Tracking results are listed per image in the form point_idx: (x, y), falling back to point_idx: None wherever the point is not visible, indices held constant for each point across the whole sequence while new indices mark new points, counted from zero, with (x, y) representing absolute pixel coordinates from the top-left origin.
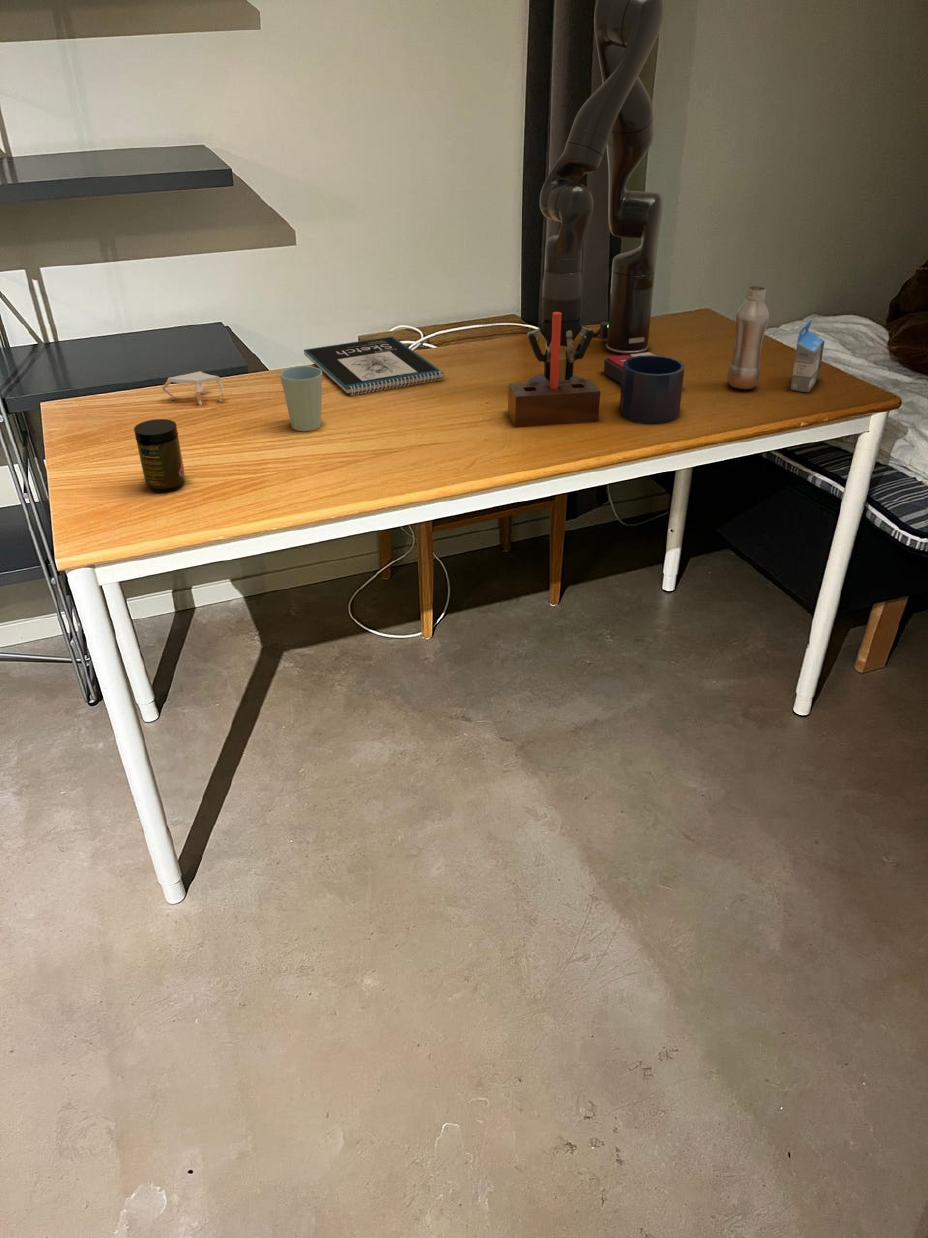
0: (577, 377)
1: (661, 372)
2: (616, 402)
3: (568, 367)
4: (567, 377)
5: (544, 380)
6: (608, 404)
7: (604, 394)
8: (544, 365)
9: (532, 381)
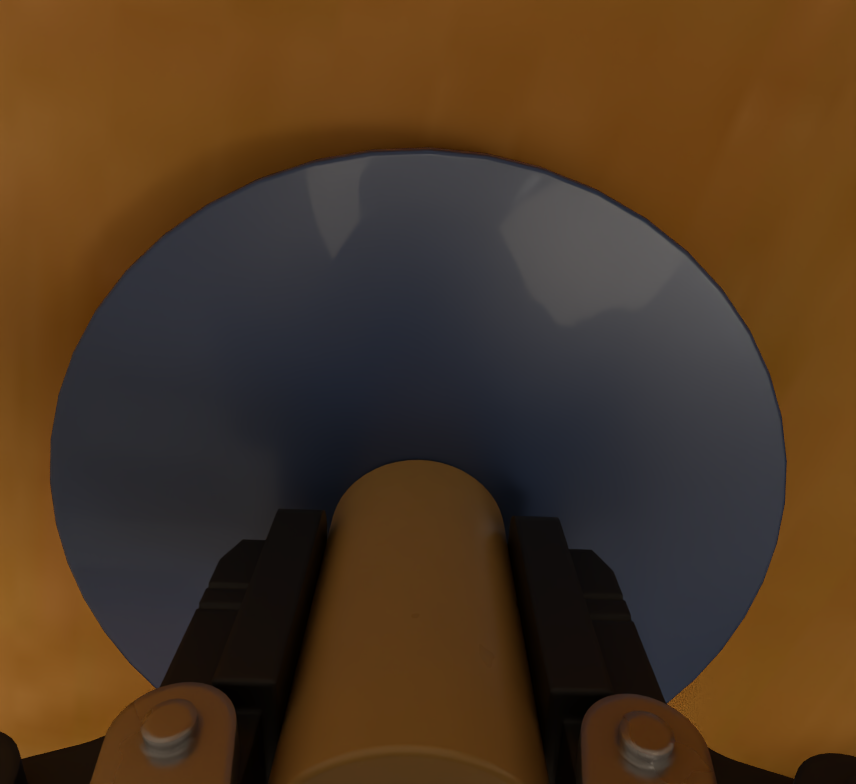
0: (723, 396)
1: None
2: None
3: None
4: None
5: (278, 409)
6: None
7: (834, 598)
8: (175, 665)
9: (122, 409)
